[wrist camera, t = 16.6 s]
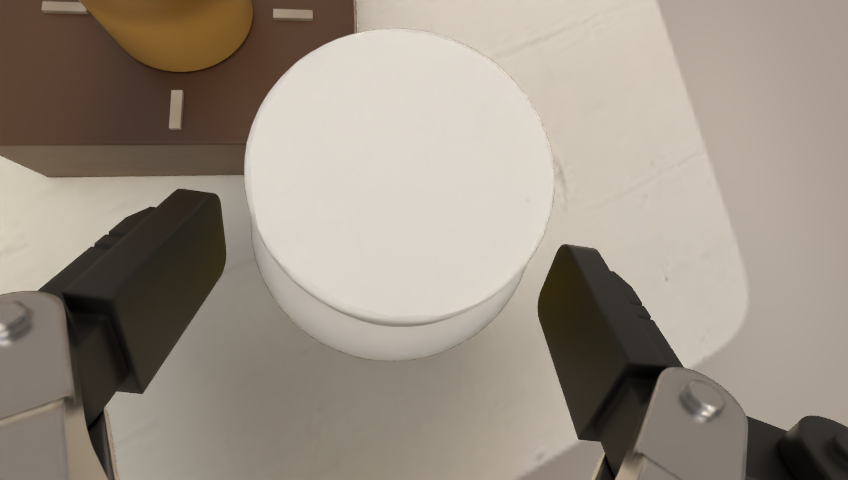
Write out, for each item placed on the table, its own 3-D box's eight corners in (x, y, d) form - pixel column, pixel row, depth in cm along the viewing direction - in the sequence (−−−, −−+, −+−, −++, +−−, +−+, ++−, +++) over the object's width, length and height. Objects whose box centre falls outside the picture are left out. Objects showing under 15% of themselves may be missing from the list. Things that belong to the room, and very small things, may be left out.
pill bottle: (493, 277, 17) (686, 199, 6) (376, 379, 16) (375, 493, 5) (398, 165, 18) (432, -79, 7) (277, 255, 16) (90, 125, 6)
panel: (355, -30, 19) (351, -96, 16) (360, 173, 18) (357, 141, 14) (74, -42, 18) (12, -118, 15) (47, 177, 16) (-31, 142, 13)
